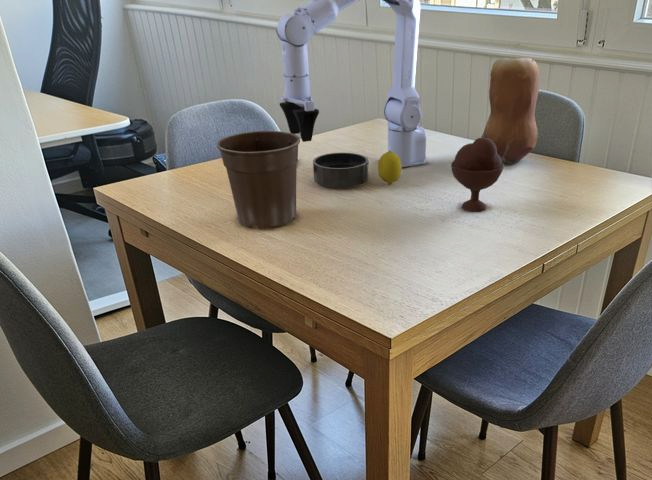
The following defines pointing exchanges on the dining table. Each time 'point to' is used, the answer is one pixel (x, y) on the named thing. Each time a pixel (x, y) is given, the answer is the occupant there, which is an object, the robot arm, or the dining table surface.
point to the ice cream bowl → (477, 170)
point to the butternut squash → (513, 107)
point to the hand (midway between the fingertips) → (300, 137)
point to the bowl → (341, 170)
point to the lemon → (389, 167)
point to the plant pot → (262, 176)
